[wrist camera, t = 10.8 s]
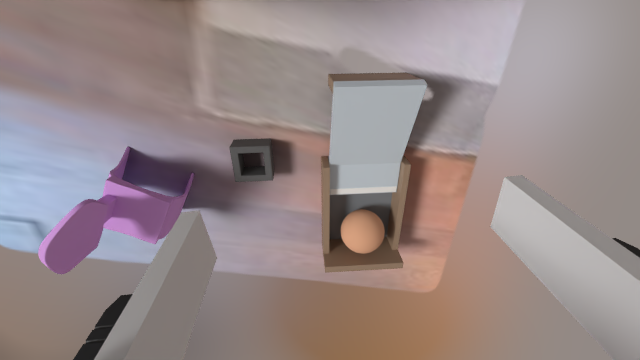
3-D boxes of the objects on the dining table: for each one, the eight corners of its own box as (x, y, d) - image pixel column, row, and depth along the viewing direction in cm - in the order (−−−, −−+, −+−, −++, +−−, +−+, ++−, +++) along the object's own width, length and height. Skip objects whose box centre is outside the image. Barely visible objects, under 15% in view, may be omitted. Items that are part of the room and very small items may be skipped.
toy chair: (182, 215, 40) (125, 307, 27) (115, 191, 38) (17, 280, 24) (201, 168, 37) (146, 247, 24) (129, 139, 34) (23, 209, 21)
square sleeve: (233, 139, 35) (229, 147, 33) (271, 138, 35) (269, 146, 33) (239, 172, 37) (235, 181, 35) (274, 171, 38) (272, 180, 35)
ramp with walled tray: (320, 73, 32) (325, 83, 27) (413, 71, 33) (437, 80, 27) (322, 243, 44) (325, 274, 38) (390, 239, 45) (403, 269, 39)
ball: (337, 221, 43) (341, 260, 40) (340, 202, 38) (345, 245, 35) (375, 219, 43) (383, 257, 40) (384, 200, 38) (393, 243, 35)
